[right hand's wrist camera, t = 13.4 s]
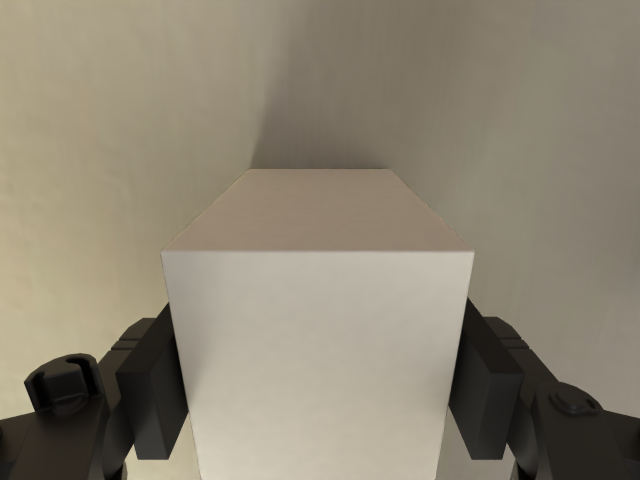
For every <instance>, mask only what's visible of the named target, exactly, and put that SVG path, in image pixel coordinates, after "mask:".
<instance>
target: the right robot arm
mask: <svg viewBox="0 0 640 480" xmlns="http://www.w3.org/2000/svg"><path fill="white" fill-rule="evenodd" d="M24 384H25V387H26V390H27V392H28V395H29V397H30V400H31V402H32V405H33V407H34V410H35V412H32V413H28V414H24V415H20V416H16V417H11V418H7V419H3V420H0V480H127V467H126V463H125V458H126V456H127V455H128V453H129V451H130V449H131V447H132V445H133V444H134V447H135V451H136V454H137V458H138V460H168V459H169V457H170V454H171V452H172V450H173V447H174V445H175V443H176V440H177V438H178V435H179V433H180V431H181V428H182V426H183V424H184V421H185V419H186V417H187V414H188V412H189V410H188V404H187V399H186V393H185V388H184V382H183V377H182V371H181V366H180V360H179V354H178V349H177V343H176V338H175V332H174V327H173V321H172V316H171V310H170V305H169V302H168V303H167V305H166V306H165V307H164V309H163V310H162V311H161V313H160V314H159V315H158V317H157V318H142V319H141V320H139V321H138V322H136V323H135V324H133V325H132V326H130V327H129V328H128V329H127V330H126V331H125V332H124V334H123V335H122V336H121V337H120V338H119V341H117V342H116V343H115V344H114V345H113V346H112V348H111V351H108V352H107V354H106V355H105V356H104V357H103V358H102V359H101V361H100V362H99V363H98V364H97V362H96V359H95V358H94V357H92V356H91V355H89V354H82V353H79V354H70V355H66V356H62V357H59V358H56V359H53V360H51V361H49V362H47V363H45V364H43V365H41V366H40V367H39V368H37V369H36V370H35V371H33V372H32V373H31V374H30V375H29V376H28V377H27V379H26V380H25V381H24ZM448 405H449V407H450V410H451V412H452V414H453V417H454V419H455V421H456V424H457V426H458V428H459V431H460V433H461V435H462V438H463V440H464V442H465V445H466V447H467V450H468V452H469V454H470V457H471V459H472V460H502V458H503V454H504V451H505V447H506V443H507V444H508V445H509V447H510V449H511V451H512V453H513V455H514V456H515V458H516V459H515V463H514V466H513V470H512V473H511V477H510V480H640V418H635V417H631V416H627V415H623V414H618V413H614V412H610V411H606V410H603V408H602V407H601V405H600V404H599V402H597V401H596V400H595V399H594V398H593V397H592V396H590V395H589V394H588V393H586V392H584V391H582V390H581V389H579V388H577V387H575V386H572V385H569V384H566V383H563V382H559V381H558V380H557V379H556V378H555V376H554V375H553V374H552V373H551V372H550V371H549V369H548V368H547V367H546V366H545V365H544V364H543V362H542V361H541V360H540V359H539V358H538V357H537V355H536V354H535V353H534V352H533V351H532V350H531V349H529V346H528V345H527V344H526V343H525V341H524V340H521V337H520V336H519V334H518V333H517V332H516V331H515V330H514V329H513V327H512V326H510V325H509V324H507V323H506V322H504V321H503V320H501V319H500V318H498V317H482V315H481V314H480V313H479V311H478V310H477V309H476V307H475V306H474V305H473V303H472V302H471V301H470V300H469V298H468V297H467V300H466V306H465V312H464V318H463V323H462V329H461V335H460V340H459V346H458V352H457V358H456V363H455V369H454V375H453V380H452V386H451V392H450V398H449V403H448Z"/></svg>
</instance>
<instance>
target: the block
mask: <svg viewBox="0 0 640 480" xmlns="http://www.w3.org/2000/svg"><path fill="white" fill-rule="evenodd" d="M160 255H161V260H162V266H163V271H164V277H165V283H166V288H167V294H168V299H169V305H170V310H171V316H172V321H173V327H174V332H175V338H176V343H177V349H178V354H179V360H180V366H181V371H182V377H183V382H184V388H185V393H186V399H187V404H188V410H189V415H190V421H191V426H192V432H193V438H194V443H195V449H196V454H197V460H198V465H199V471H200V476H201V480H435V477H436V472H437V466H438V460H439V455H440V449H441V443H442V437H443V432H444V426H445V420H446V415H447V409H448V403H449V398H450V392H451V386H452V380H453V375H454V369H455V363H456V358H457V352H458V346H459V340H460V335H461V329H462V323H463V318H464V312H465V306H466V300H467V295H468V289H469V283H470V278H471V272H472V266H473V260H474V255H475V252H474V250H473V249H472V248H471V247H470V246H469V245H468V244H467V243H466V242H465V241H464V240H463V239H462V238H461V237H460V236H459V235H458V234H456V233H455V232H454V231H453V230H452V229H451V228H450V227H449V226H448V225H447V224H446V223H445V222H444V221H443V220H442V219H441V218H440V217H439V216H438V215H437V214H436V213H435V212H434V211H433V210H432V209H431V208H430V207H429V206H428V205H427V204H426V203H425V202H424V201H422V200H421V199H420V198H419V197H418V196H417V195H416V194H415V193H414V192H413V191H412V190H411V189H410V188H409V187H408V186H407V185H406V184H405V183H404V182H403V181H402V180H401V179H400V178H399V177H398V176H397V175H396V174H395V173H394V172H393V171H392V170H391V169H248V170H247V171H246V172H245V173H244V174H243V175H241V176H240V177H239V178H238V179H237V180H236V181H235V182H234V183H233V184H232V185H231V186H230V187H229V188H227V189H226V190H225V191H224V192H223V193H222V194H221V195H220V196H219V197H218V198H217V199H216V200H215V201H213V202H212V203H211V204H210V205H209V206H208V207H207V208H206V209H205V210H204V211H203V212H202V213H201V214H199V215H198V216H197V217H196V218H195V219H194V220H193V221H192V222H191V223H190V224H189V225H188V226H187V227H185V228H184V229H183V230H182V231H181V232H180V233H179V234H178V235H177V236H176V237H175V238H174V239H173V240H171V241H170V242H169V243H168V244H167V245H166V246H165V247H164V248H163V249H162V250H161V251H160Z"/></svg>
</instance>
